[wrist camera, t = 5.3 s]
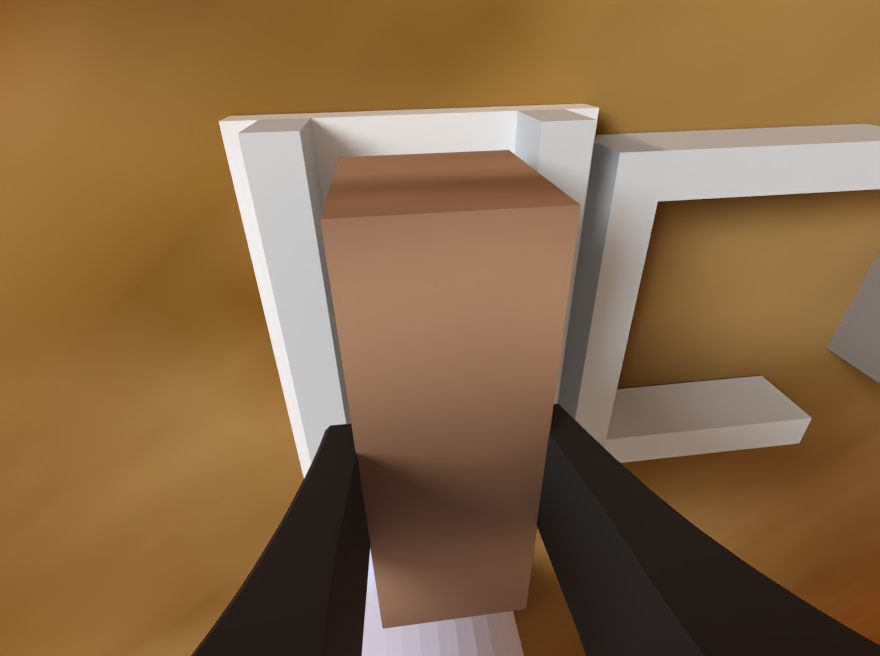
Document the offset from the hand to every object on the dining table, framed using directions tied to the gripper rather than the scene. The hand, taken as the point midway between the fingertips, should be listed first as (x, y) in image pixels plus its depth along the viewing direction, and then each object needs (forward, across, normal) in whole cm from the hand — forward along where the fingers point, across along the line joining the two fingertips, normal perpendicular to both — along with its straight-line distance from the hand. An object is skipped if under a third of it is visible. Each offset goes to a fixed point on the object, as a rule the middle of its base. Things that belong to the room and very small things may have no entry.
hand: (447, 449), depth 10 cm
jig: (+6, -4, 0) cm, 8 cm away
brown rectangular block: (+3, 0, 0) cm, 3 cm away
